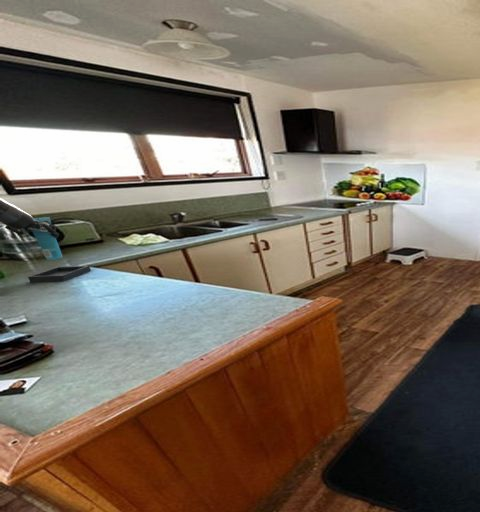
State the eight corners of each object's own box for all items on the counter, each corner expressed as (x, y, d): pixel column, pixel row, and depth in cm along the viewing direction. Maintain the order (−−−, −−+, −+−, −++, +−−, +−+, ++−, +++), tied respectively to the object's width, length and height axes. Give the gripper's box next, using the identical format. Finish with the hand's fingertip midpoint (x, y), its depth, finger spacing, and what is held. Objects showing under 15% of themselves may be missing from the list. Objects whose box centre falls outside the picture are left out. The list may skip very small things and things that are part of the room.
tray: (30, 282, 122) (27, 276, 121) (59, 271, 134) (57, 266, 133) (64, 280, 123) (62, 275, 122) (91, 270, 135) (89, 265, 134)
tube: (68, 256, 129) (51, 216, 123) (64, 258, 126) (47, 217, 119) (45, 259, 126) (27, 218, 119) (40, 261, 122) (21, 219, 116)
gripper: (35, 206, 112) (70, 228, 127) (-10, 208, 109) (31, 230, 124) (29, 221, 109) (65, 242, 124) (-18, 224, 106) (25, 245, 120)
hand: (48, 236), depth 124 cm, fingers closed on tube, 6 cm apart
